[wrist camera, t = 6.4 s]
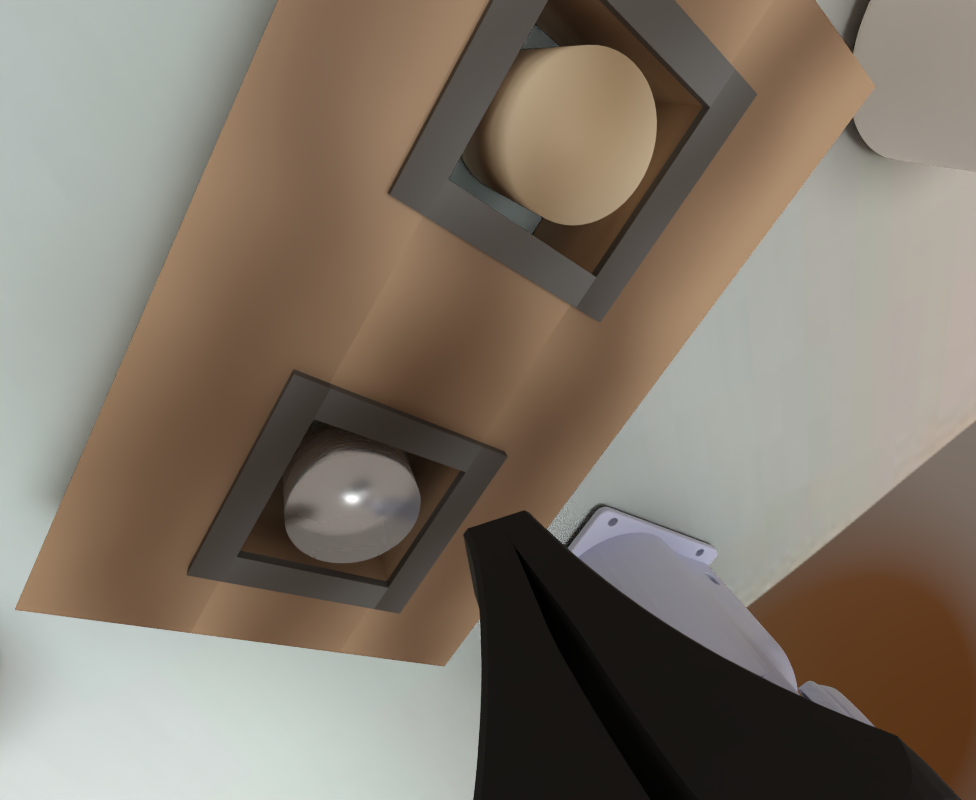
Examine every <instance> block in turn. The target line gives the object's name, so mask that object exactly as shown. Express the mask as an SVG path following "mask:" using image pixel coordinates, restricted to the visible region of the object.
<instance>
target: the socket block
mask: <svg viewBox="0 0 976 800" xmlns="http://www.w3.org/2000/svg"><path fill="white" fill-rule="evenodd" d="M534 24H536V25H537V26H538V27H540V28H541V29H542V30H543V31H544V32H545V33H546V34H547V35H548V36H549V37H550V38H552V39H553V40H554V41H555V42H556V43H557V44H558V45H559V46H560V47H564V46H579V45H600V46H605V47H609V48H612V49H614V50H617V51H619V52H620V53H622V54H624V55H625V56H627V57H628V58H629V59H630V60H631V61H633V62H634V63H635V65H636V66H637V67H638V68H639V69H640V70H641V72H642V73H643V75H644V77H645V78H646V80H647V82H648V84H649V86H650V89H651V92H652V95H653V98H654V102H655V108H656V117H657V132H656V140H655V146H654V150H653V155H652V158H651V161H650V163H649V166H648V168H647V171H646V173H645V175H644V177H643V179H642V180H641V182H640V184H639V185H638V187H637V188H636V190H635V191H634V192H633V194H632V195H631V196H630V197H629V198H628V199H627V200H626V201H625V203H623V204H622V205H621V206H620V207H619V208H618V209H616V210H615V211H614V212H612V213H611V214H609V215H607V216H606V217H604V218H602V219H600V220H597V221H594V222H592V223H587V224H583V225H563V224H559V223H555V222H552V221H550V220H547V219H545V218H543V219H542V220H541V222H540V224H539V225H538V227H537V229H536V230H535V232H534V233H533V235H532V234H530V233H529V232H527V231H526V230H524V229H523V228H521V227H520V226H518V225H517V224H515V223H514V222H512V221H510V220H509V219H507V218H506V217H504V216H503V215H501V214H500V213H498V212H497V211H495V210H494V209H492V208H491V207H489V206H488V205H486V204H485V203H483V202H482V201H480V200H479V199H477V198H476V197H474V196H473V195H471V194H470V193H468V192H467V191H465V190H464V189H462V188H461V187H459V186H458V185H456V184H455V183H453V182H452V181H450V180H448V178H449V176H450V175H451V173H452V171H453V169H454V167H455V166H456V164H457V162H458V160H459V158H460V157H461V155H462V153H463V151H464V150H465V148H466V146H467V144H468V142H469V141H470V139H471V137H472V135H473V133H474V132H475V130H476V128H477V126H478V124H479V123H480V121H481V119H482V117H483V116H484V114H485V112H486V110H487V108H488V107H489V105H490V103H491V101H492V99H493V98H494V96H495V94H496V92H497V91H498V89H499V87H500V85H501V83H502V82H503V80H504V78H505V76H506V74H507V73H508V71H509V69H510V67H511V66H512V64H513V62H514V60H515V58H516V57H517V55H518V53H519V51H520V49H521V48H522V46H523V44H524V42H525V40H526V39H527V37H528V35H529V33H530V32H531V30H532V28H533V26H534ZM875 87H876V86H875V85H874V83H873V82H872V80H871V79H870V78H869V76H868V75H867V73H866V72H865V70H864V69H863V68H862V66H861V65H860V63H859V62H858V60H857V59H856V58H855V56H854V55H853V53H852V52H851V51H850V49H849V48H848V46H847V45H846V43H845V42H844V41H843V39H842V38H841V36H840V35H839V33H838V32H837V31H836V29H835V28H834V26H833V25H832V24H831V22H830V21H829V19H828V18H827V16H826V15H825V14H824V12H823V11H822V9H821V8H820V6H819V5H818V4H817V2H816V1H815V0H278V2H277V4H276V6H275V8H274V11H273V13H272V15H271V18H270V20H269V22H268V25H267V27H266V29H265V32H264V34H263V36H262V39H261V41H260V43H259V46H258V48H257V50H256V52H255V55H254V57H253V59H252V62H251V64H250V66H249V69H248V71H247V73H246V76H245V78H244V80H243V83H242V85H241V87H240V89H239V92H238V94H237V96H236V99H235V101H234V103H233V106H232V108H231V110H230V113H229V115H228V117H227V120H226V122H225V124H224V126H223V129H222V131H221V133H220V136H219V138H218V140H217V143H216V145H215V147H214V150H213V152H212V154H211V157H210V159H209V161H208V164H207V166H206V168H205V170H204V173H203V175H202V177H201V180H200V182H199V184H198V187H197V189H196V191H195V194H194V196H193V198H192V201H191V203H190V205H189V207H188V210H187V212H186V214H185V217H184V219H183V221H182V224H181V226H180V228H179V231H178V233H177V235H176V238H175V240H174V242H173V244H172V247H171V249H170V251H169V254H168V256H167V258H166V261H165V263H164V265H163V268H162V270H161V272H160V275H159V277H158V279H157V282H156V284H155V286H154V288H153V291H152V293H151V295H150V298H149V300H148V302H147V305H146V307H145V309H144V312H143V314H142V316H141V319H140V321H139V323H138V325H137V328H136V330H135V332H134V335H133V337H132V339H131V342H130V344H129V346H128V349H127V351H126V353H125V356H124V358H123V360H122V363H121V365H120V367H119V369H118V372H117V374H116V376H115V379H114V381H113V383H112V386H111V388H110V390H109V393H108V395H107V397H106V400H105V402H104V404H103V406H102V409H101V411H100V413H99V416H98V418H97V420H96V423H95V425H94V427H93V430H92V432H91V434H90V437H89V439H88V441H87V443H86V446H85V448H84V450H83V453H82V455H81V457H80V460H79V462H78V464H77V467H76V469H75V471H74V474H73V476H72V478H71V481H70V483H69V485H68V487H67V490H66V492H65V494H64V497H63V499H62V501H61V504H60V506H59V508H58V511H57V513H56V515H55V518H54V520H53V522H52V524H51V527H50V529H49V531H48V534H47V536H46V538H45V541H44V543H43V545H42V548H41V550H40V552H39V555H38V557H37V559H36V562H35V564H34V566H33V568H32V571H31V573H30V575H29V578H28V580H27V582H26V585H25V587H24V589H23V592H22V594H21V596H20V599H19V601H18V603H17V605H16V608H15V610H20V611H28V612H35V613H43V614H50V615H58V616H66V617H73V618H81V619H88V620H96V621H104V622H111V623H119V624H126V625H134V626H142V627H149V628H157V629H164V630H172V631H179V632H187V633H195V634H202V635H210V636H217V637H225V638H233V639H240V640H248V641H255V642H263V643H271V644H278V645H286V646H293V647H301V648H309V649H316V650H324V651H331V652H339V653H347V654H354V655H362V656H369V657H377V658H384V659H392V660H400V661H407V662H415V663H422V664H430V665H438V666H445V665H446V663H447V662H448V661H449V659H450V658H451V657H452V655H453V654H454V653H455V651H456V650H457V649H458V647H459V646H460V645H461V643H462V642H463V640H464V639H465V638H466V636H467V635H468V634H469V632H470V631H471V630H472V628H473V627H474V626H475V624H476V623H477V622H478V620H479V619H480V612H479V607H478V603H477V600H476V597H475V594H474V589H473V584H472V578H471V573H470V568H469V563H468V557H467V552H466V547H465V542H464V536H463V534H464V533H465V531H466V530H467V529H468V528H471V527H474V526H477V525H480V524H483V523H486V522H489V521H492V520H495V519H498V518H501V517H505V516H508V515H511V514H514V513H517V512H520V511H523V510H525V511H527V512H529V513H530V514H531V515H532V516H533V517H534V518H535V519H536V520H537V521H538V522H539V523H541V524H542V525H543V526H544V527H545V528H546V529H547V528H548V526H549V525H550V524H551V522H552V521H553V520H554V518H555V517H556V516H557V514H558V513H559V512H560V510H561V509H562V508H563V506H564V505H565V503H566V502H567V501H568V499H569V498H570V497H571V495H572V494H573V493H574V491H575V490H576V489H577V487H578V486H579V485H580V483H581V482H582V481H583V479H584V478H585V477H586V475H587V474H588V473H589V471H590V470H591V469H592V467H593V466H594V465H595V463H596V462H597V461H598V459H599V458H600V456H601V455H602V454H603V452H604V451H605V450H606V448H607V447H608V446H609V444H610V443H611V442H612V440H613V439H614V438H615V436H616V435H617V434H618V432H619V431H620V430H621V428H622V427H623V426H624V424H625V423H626V422H627V420H628V419H629V418H630V416H631V415H632V414H633V412H634V411H635V409H636V408H637V407H638V405H639V404H640V403H641V401H642V400H643V399H644V397H645V396H646V395H647V393H648V392H649V391H650V389H651V388H652V387H653V385H654V384H655V383H656V381H657V380H658V379H659V377H660V376H661V375H662V373H663V372H664V371H665V369H666V368H667V366H668V365H669V364H670V362H671V361H672V360H673V358H674V357H675V356H676V354H677V353H678V352H679V350H680V349H681V348H682V346H683V345H684V344H685V342H686V341H687V340H688V338H689V337H690V336H691V334H692V333H693V332H694V330H695V329H696V328H697V326H698V325H699V324H700V322H701V321H702V319H703V318H704V317H705V315H706V314H707V313H708V311H709V310H710V309H711V307H712V306H713V305H714V303H715V302H716V301H717V299H718V298H719V297H720V295H721V294H722V293H723V291H724V290H725V289H726V287H727V286H728V285H729V283H730V282H731V281H732V279H733V278H734V277H735V275H736V274H737V272H738V271H739V270H740V268H741V267H742V266H743V264H744V263H745V262H746V260H747V259H748V258H749V256H750V255H751V254H752V252H753V251H754V250H755V248H756V247H757V246H758V244H759V243H760V242H761V240H762V239H763V238H764V236H765V235H766V234H767V232H768V231H769V230H770V228H771V227H772V225H773V224H774V223H775V221H776V220H777V219H778V217H779V216H780V215H781V213H782V212H783V211H784V209H785V208H786V207H787V205H788V204H789V203H790V201H791V200H792V199H793V197H794V196H795V195H796V193H797V192H798V191H799V189H800V188H801V187H802V185H803V184H804V182H805V181H806V180H807V178H808V177H809V176H810V174H811V173H812V172H813V170H814V169H815V168H816V166H817V165H818V164H819V162H820V161H821V160H822V158H823V157H824V156H825V154H826V153H827V152H828V150H829V149H830V148H831V146H832V145H833V144H834V142H835V141H836V140H837V138H838V137H839V135H840V134H841V133H842V131H843V130H844V129H845V127H846V126H847V125H848V123H849V122H850V121H851V119H852V118H853V117H854V115H855V114H856V113H857V111H858V110H859V109H860V107H861V106H862V105H863V103H864V102H865V101H866V99H867V98H868V97H869V95H870V94H871V93H872V91H873V90H874V88H875ZM313 419H315V420H318V421H321V422H324V423H327V424H329V425H332V426H335V427H338V428H341V429H344V430H347V431H349V432H352V433H355V434H358V435H361V436H364V437H367V438H369V439H372V440H375V441H378V442H381V443H384V444H387V445H389V446H392V447H395V448H398V449H401V450H404V451H405V453H406V456H407V458H408V461H409V464H410V467H411V470H412V472H413V475H414V478H415V481H416V483H417V486H418V489H419V493H420V500H421V504H420V511H419V515H418V518H417V520H416V523H415V524H414V526H413V528H412V529H411V531H410V532H409V533H408V535H407V536H406V537H405V538H404V539H403V540H402V541H401V542H399V543H398V544H397V545H396V546H394V547H393V548H391V549H390V550H388V551H386V552H385V553H383V554H381V555H378V556H376V557H373V558H370V559H367V560H364V561H359V562H353V563H331V562H325V561H321V560H318V559H315V558H313V557H310V556H309V555H307V554H305V553H303V552H302V551H301V550H300V549H298V548H297V547H296V546H295V545H294V544H293V542H292V541H291V539H290V538H289V536H288V534H287V531H286V527H285V520H284V496H283V476H282V475H283V473H284V471H285V469H286V468H287V466H288V464H289V462H290V460H291V459H292V457H293V455H294V453H295V452H296V450H297V448H298V446H299V444H300V443H301V441H302V439H303V437H304V435H305V434H306V432H307V430H308V428H309V427H310V425H311V423H312V421H313Z"/></svg>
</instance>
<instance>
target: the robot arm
mask: <svg viewBox="0 0 976 800" xmlns="http://www.w3.org/2000/svg"><path fill="white" fill-rule="evenodd" d="M610 519H611V520H610ZM463 536H464V542H465V547H466V552H467V557H468V563H469V568H470V573H471V578H472V584H473V589H474V594H475V597H476V600H477V603H478V607H479V612H480V625H481V659H482V680H481V713H480V730H479V745H478V759H477V770H476V781H475V790H474V799H473V800H961V799H960V798H959V797H958V796H957V795H956V794H955V793H954V791H953V790H952V789H951V788H950V787H949V786H948V785H947V784H946V783H945V782H944V781H943V780H942V779H941V778H940V777H939V776H938V775H937V773H936V772H935V771H934V770H933V769H932V768H931V767H930V766H929V765H928V764H927V763H926V762H925V761H924V760H922V758H921V757H919V756H918V755H917V754H916V753H915V752H914V751H913V750H911V749H910V748H909V747H908V746H907V745H906V744H905V743H904V742H903V741H902V740H901V739H900V738H898V736H896V735H893V734H891V733H888V732H886V731H883V730H881V729H878V728H876V727H874V725H873V724H872V723H871V722H870V721H869V720H868V719H867V718H866V717H865V716H864V715H863V714H862V713H861V712H860V711H859V710H858V709H857V708H856V707H855V706H854V705H853V704H852V703H851V702H850V701H849V700H848V699H847V698H846V697H844V696H843V695H842V694H841V693H840V692H839V691H837V690H836V689H834V688H832V687H828V686H824V685H817V684H816V683H815V682H812V681H808V682H806V683H805V684H804V685H802V686H801V687H799V688H798V689H799V691H800V693H801V695H802V696H803V697H802V696H800V695H799V693H798V690H797V684H796V679H795V675H794V672H793V669H792V667H791V664H790V662H789V660H788V658H787V656H786V655H785V653H784V651H783V650H782V649H781V647H780V646H779V645H778V643H776V642H775V640H774V639H773V638H772V637H771V636H770V634H769V633H768V632H767V631H766V630H765V629H764V628H763V626H762V625H761V624H760V623H759V622H758V621H757V620H756V619H755V617H754V616H753V615H752V614H751V613H750V612H749V611H748V610H747V608H746V607H745V606H744V605H743V604H742V603H741V602H740V601H739V599H738V598H737V597H736V596H735V595H734V594H733V593H732V592H731V590H730V589H729V588H728V587H727V586H726V585H725V584H724V582H723V581H722V580H721V579H720V578H719V577H718V576H717V575H716V573H715V572H714V571H713V570H712V569H711V568H710V567H709V565H710V564H711V563H712V562H713V560H714V559H715V558H716V557H717V554H718V551H717V550H716V548H715V547H714V546H712V545H710V544H707V543H704V542H701V541H699V540H696V539H693V538H691V537H688V536H685V535H682V534H680V533H677V532H674V531H672V530H669V529H666V528H664V527H661V526H658V525H655V524H653V523H650V522H647V521H645V520H642V519H639V518H636V517H634V516H631V515H628V514H626V513H623V512H620V511H618V510H615V509H612V508H609V507H602V508H599V509H598V510H597V511H596V512H595V513H594V514H593V516H592V517H591V518H590V519H589V521H588V522H587V523H586V525H585V526H584V527H583V529H582V530H581V531H580V533H579V534H578V535H577V536H576V538H575V539H574V540H573V542H572V543H571V544H570V546H569V547H568V548H567V547H565V546H564V545H563V544H562V543H561V542H560V541H559V540H558V539H556V538H555V537H554V536H553V535H552V534H551V533H550V532H549V531H548V530H547V529H546V528H545V527H544V526H543V525H542V524H541V523H539V522H538V521H537V520H536V519H535V518H534V517H533V516H532V515H531V514H530V513H529V512H527V511H525V510H523V511H520V512H517V513H514V514H511V515H508V516H505V517H501V518H498V519H495V520H492V521H489V522H486V523H483V524H480V525H477V526H474V527H471V528H468V529H467V530H466V531H465V533H464V534H463Z"/></svg>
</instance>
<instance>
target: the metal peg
mask: <svg viewBox="0 0 976 800" xmlns="http://www.w3.org/2000/svg"><path fill="white" fill-rule="evenodd" d="M283 496H284V520H285V527H286V531H287V534H288V536H289V538H290V539H291V541H292V542H293V544H294V545H295V546H296V547H297V548H298V549H300V550H301V551H302V552H303V553H305V554H307V555H309V556H310V557H313V558H315V559H318V560H321V561H325V562H331V563H353V562H359V561H364V560H367V559H370V558H373V557H376V556H378V555H381V554H383V553H385V552H386V551H388V550H390V549H391V548H393V547H394V546H396V545H397V544H398V543H399V542H401V541H402V540H403V539H404V538H405V537H406V536H407V535H408V533H409V532H410V531H411V529H412V528H413V526H414V524H415V523H416V520H417V518H418V515H419V511H420V504H421V500H420V493H419V489H418V486H417V483H416V481H415V478H414V475H413V472H412V470H411V467H410V464H409V461H408V458H407V456H406V453H405V451H404V450H401V449H398V448H395V447H392V446H389V445H387V444H384V443H381V442H378V441H375V440H372V439H369V438H367V437H364V436H361V435H358V434H355V433H352V432H349V431H347V430H344V429H341V428H338V427H335V426H332V425H329V424H327V423H324V422H321V421H318V420H315V419H313V421H312V423H311V425H310V427H309V428H308V430H307V432H306V434H305V435H304V437H303V439H302V441H301V443H300V444H299V446H298V448H297V450H296V452H295V453H294V455H293V457H292V459H291V460H290V462H289V464H288V466H287V468H286V469H285V471H284V473H283Z"/></svg>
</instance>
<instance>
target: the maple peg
mask: <svg viewBox="0 0 976 800" xmlns="http://www.w3.org/2000/svg"><path fill="white" fill-rule="evenodd" d="M656 132H657V117H656V108H655V102H654V98H653V95H652V92H651V89H650V86H649V84H648V82H647V80H646V78H645V77H644V75H643V73H642V72H641V70H640V69H639V68H638V67H637V66H636V65H635V63H634V62H633V61H631V60H630V59H629V58H628V57H627V56H625V55H624V54H622V53H620V52H619V51H617V50H614V49H612V48H609V47H605V46H600V45H579V46H564V47H549V48H534V49H520V51H519V53H518V55H517V57H516V58H515V60H514V62H513V64H512V66H511V67H510V69H509V71H508V73H507V74H506V76H505V78H504V80H503V82H502V83H501V85H500V87H499V89H498V91H497V92H496V94H495V96H494V98H493V99H492V101H491V103H490V105H489V107H488V108H487V110H486V112H485V114H484V116H483V117H482V119H481V121H480V123H479V124H478V126H477V128H476V130H475V132H474V133H473V135H472V137H471V139H470V141H469V142H468V144H467V146H466V148H465V150H464V151H463V153H462V155H461V156H462V159H463V161H464V163H465V164H466V166H467V168H468V169H469V171H470V172H471V173H472V174H473V176H474V177H475V178H476V179H477V180H478V181H480V182H481V183H482V184H484V185H485V186H487V187H489V188H490V189H492V190H494V191H496V192H498V193H499V194H501V195H503V196H505V197H507V198H509V199H510V200H512V201H514V202H516V203H518V204H520V205H521V206H523V207H525V208H527V209H529V210H531V211H532V212H534V213H536V214H538V215H540V216H542V217H543V218H545V219H547V220H550V221H552V222H555V223H559V224H563V225H583V224H587V223H592V222H594V221H597V220H600V219H602V218H604V217H606V216H607V215H609V214H611V213H612V212H614V211H615V210H616V209H618V208H619V207H620V206H621V205H622V204H623V203H625V201H626V200H627V199H628V198H629V197H630V196H631V195H632V194H633V192H634V191H635V190H636V188H637V187H638V185H639V184H640V182H641V180H642V179H643V177H644V175H645V173H646V171H647V168H648V166H649V163H650V161H651V158H652V155H653V150H654V146H655V140H656Z"/></svg>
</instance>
